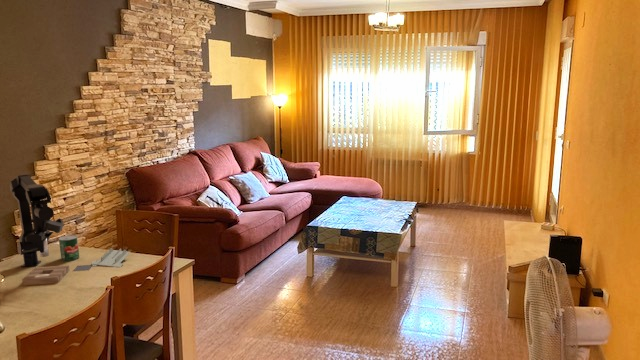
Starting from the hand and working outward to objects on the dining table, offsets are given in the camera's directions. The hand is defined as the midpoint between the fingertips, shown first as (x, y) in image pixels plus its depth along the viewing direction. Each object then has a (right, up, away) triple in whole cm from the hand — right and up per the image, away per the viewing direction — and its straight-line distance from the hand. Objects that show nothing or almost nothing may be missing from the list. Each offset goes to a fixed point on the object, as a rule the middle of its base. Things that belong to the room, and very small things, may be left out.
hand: (44, 251), depth 218 cm
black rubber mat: (+11, -10, +13) cm, 20 cm away
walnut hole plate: (0, -12, +2) cm, 12 cm away
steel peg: (0, -2, 0) cm, 2 cm away
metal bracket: (+21, -8, +21) cm, 31 cm away
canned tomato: (-1, -8, +26) cm, 27 cm away
